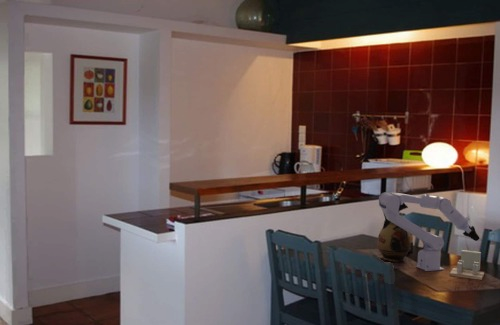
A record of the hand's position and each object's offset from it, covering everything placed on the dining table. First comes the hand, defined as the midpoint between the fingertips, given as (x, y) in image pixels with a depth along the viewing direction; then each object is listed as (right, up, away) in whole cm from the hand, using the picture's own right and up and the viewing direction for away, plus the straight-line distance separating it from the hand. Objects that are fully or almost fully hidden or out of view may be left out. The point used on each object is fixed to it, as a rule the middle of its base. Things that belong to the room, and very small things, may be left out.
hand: (474, 236), depth 266 cm
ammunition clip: (-26, -12, +28) cm, 39 cm away
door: (-3, -15, -2) cm, 15 cm away
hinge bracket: (-8, -15, -12) cm, 21 cm away
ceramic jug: (-35, -13, +13) cm, 39 cm away
